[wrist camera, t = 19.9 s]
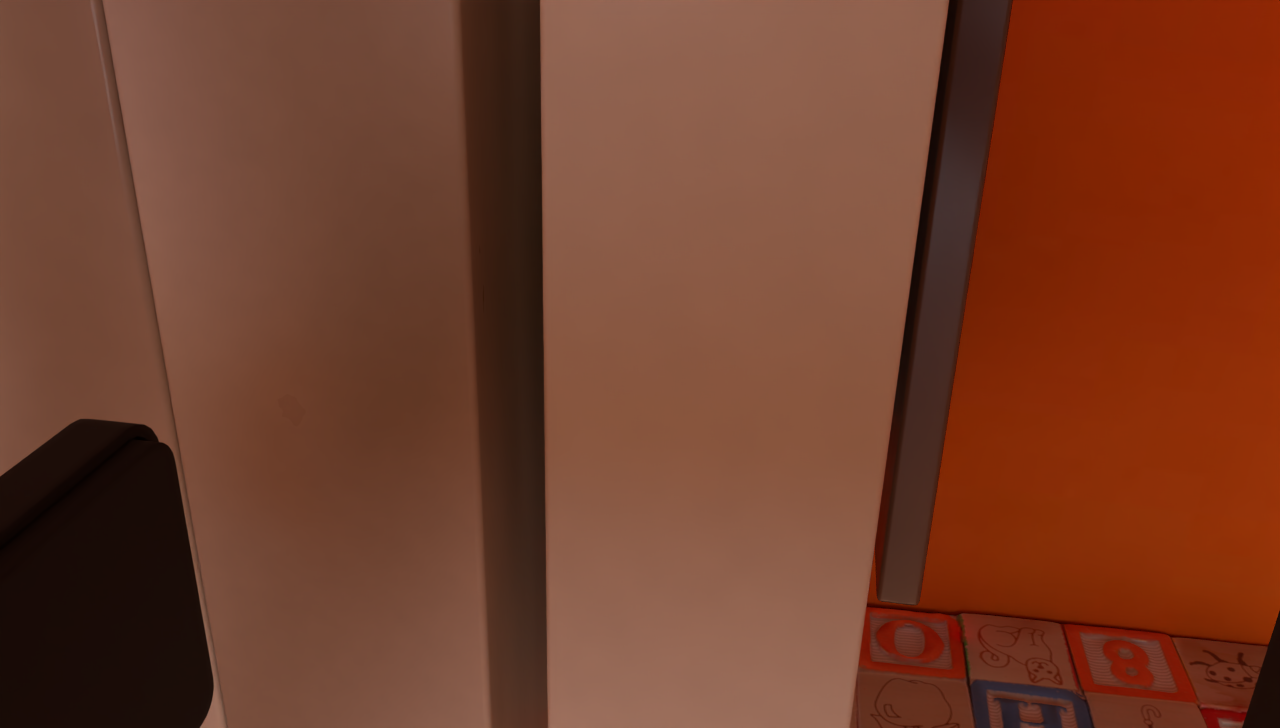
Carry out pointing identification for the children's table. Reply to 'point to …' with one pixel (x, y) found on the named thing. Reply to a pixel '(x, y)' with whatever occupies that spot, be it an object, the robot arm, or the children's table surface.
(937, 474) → the rack
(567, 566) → the white box
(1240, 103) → the children's table surface
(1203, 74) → the children's table surface
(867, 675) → the stack of blocks
